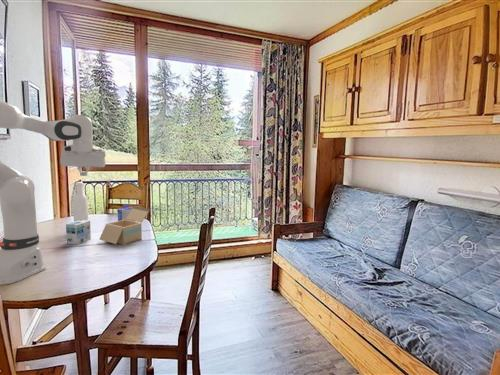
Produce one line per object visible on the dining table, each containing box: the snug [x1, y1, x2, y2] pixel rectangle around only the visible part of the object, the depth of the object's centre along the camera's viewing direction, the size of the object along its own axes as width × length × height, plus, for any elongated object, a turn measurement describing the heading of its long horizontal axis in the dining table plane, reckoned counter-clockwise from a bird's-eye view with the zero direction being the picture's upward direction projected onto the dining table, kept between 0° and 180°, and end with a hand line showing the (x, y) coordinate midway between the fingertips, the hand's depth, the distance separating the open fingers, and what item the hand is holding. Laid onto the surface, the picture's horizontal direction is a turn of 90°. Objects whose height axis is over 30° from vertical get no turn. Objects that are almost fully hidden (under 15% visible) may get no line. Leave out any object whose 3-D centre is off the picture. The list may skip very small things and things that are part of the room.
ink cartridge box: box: [116, 203, 136, 222], centre depth 198 cm, size 10×6×14 cm, turn 147°
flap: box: [126, 206, 151, 224], centre depth 179 cm, size 9×13×1 cm
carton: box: [99, 220, 143, 245], centre depth 170 cm, size 17×14×9 cm
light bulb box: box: [65, 220, 92, 246], centre depth 166 cm, size 11×7×11 cm, turn 168°
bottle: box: [72, 181, 89, 222], centre depth 183 cm, size 8×8×30 cm
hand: (83, 175), depth 156 cm, fingers closed
